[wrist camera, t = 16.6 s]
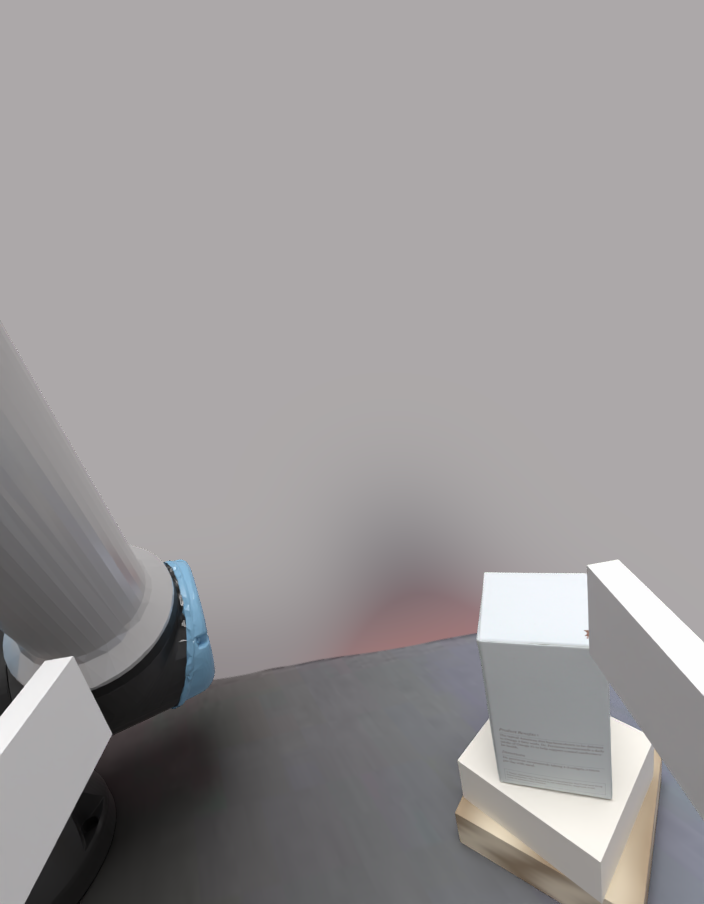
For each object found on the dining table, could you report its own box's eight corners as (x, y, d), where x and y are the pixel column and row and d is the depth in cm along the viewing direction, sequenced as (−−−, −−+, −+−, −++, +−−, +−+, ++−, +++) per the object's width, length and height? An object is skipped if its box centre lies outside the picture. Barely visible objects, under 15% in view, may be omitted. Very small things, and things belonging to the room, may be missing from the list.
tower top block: (463, 797, 36) (457, 760, 34) (526, 707, 42) (522, 673, 40) (601, 903, 28) (600, 862, 27) (653, 776, 34) (654, 737, 33)
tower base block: (461, 847, 36) (455, 812, 35) (512, 724, 45) (509, 693, 43) (641, 958, 29) (641, 920, 27) (661, 785, 37) (662, 750, 36)
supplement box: (596, 706, 36) (592, 570, 32) (614, 804, 30) (611, 649, 26) (498, 695, 39) (482, 568, 35) (495, 783, 32) (475, 639, 28)
